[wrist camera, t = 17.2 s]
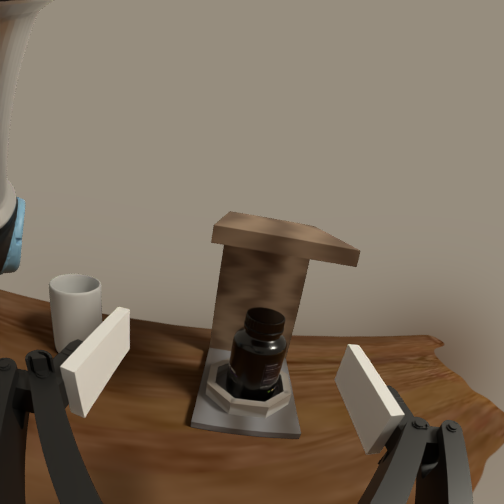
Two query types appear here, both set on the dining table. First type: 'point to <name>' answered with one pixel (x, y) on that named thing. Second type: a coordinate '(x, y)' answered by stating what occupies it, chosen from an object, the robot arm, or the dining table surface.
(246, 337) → the supplement bottle
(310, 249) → the awning stand
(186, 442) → the dining table surface
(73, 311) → the mug
